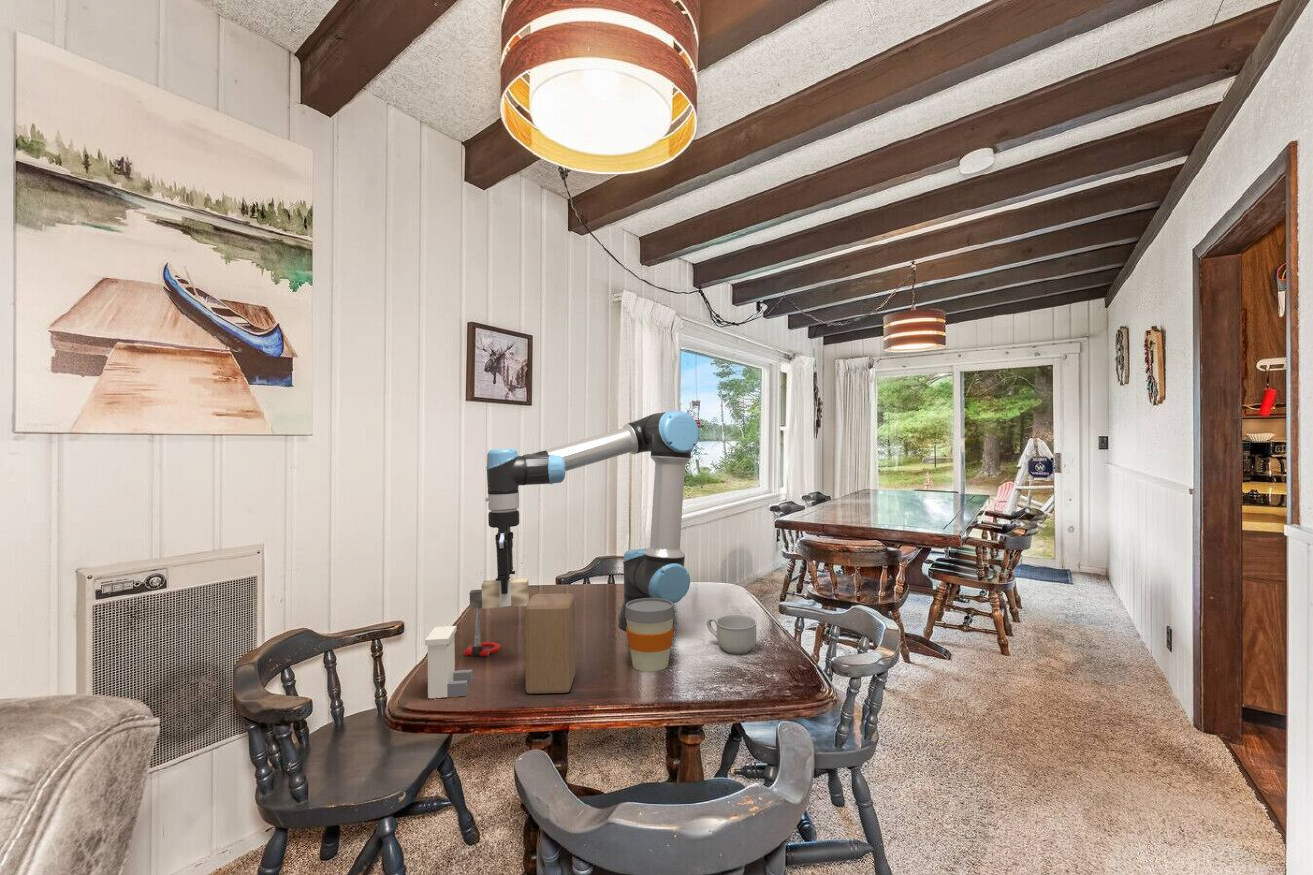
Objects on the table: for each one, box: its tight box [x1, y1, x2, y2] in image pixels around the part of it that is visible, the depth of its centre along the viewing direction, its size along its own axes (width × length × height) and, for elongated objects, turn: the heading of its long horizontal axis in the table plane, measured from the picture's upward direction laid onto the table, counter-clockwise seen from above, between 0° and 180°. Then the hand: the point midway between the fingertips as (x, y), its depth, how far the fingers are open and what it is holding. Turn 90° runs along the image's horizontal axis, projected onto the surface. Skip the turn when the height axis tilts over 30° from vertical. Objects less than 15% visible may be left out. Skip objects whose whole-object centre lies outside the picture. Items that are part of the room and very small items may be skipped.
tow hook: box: [463, 608, 501, 658], centre depth 152 cm, size 8×13×9 cm
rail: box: [469, 577, 530, 610], centre depth 140 cm, size 14×4×6 cm, turn 98°
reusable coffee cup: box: [625, 598, 676, 673], centre depth 141 cm, size 13×13×15 cm
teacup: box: [706, 613, 758, 655], centre depth 151 cm, size 14×11×8 cm
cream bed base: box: [424, 625, 473, 699], centre depth 127 cm, size 8×9×13 cm
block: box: [524, 592, 576, 695], centre depth 129 cm, size 10×10×20 cm
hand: (506, 603), depth 141 cm, fingers closed on rail, 4 cm apart
